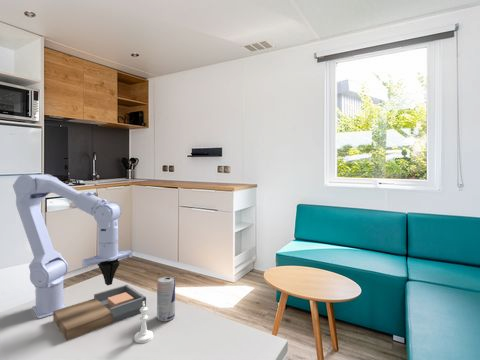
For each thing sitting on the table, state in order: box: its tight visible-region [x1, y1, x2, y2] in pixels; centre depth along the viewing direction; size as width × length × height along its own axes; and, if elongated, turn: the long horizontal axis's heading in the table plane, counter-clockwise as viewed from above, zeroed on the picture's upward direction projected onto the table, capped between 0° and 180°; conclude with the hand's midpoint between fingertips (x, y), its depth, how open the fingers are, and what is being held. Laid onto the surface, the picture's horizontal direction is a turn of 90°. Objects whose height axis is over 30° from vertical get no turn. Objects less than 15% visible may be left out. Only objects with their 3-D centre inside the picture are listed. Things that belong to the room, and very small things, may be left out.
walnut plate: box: [52, 298, 114, 342], centre depth 85 cm, size 14×12×3 cm
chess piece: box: [133, 301, 154, 344], centre depth 77 cm, size 5×5×10 cm
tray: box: [93, 284, 147, 324], centre depth 92 cm, size 14×11×4 cm
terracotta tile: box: [108, 292, 134, 307], centre depth 92 cm, size 6×6×2 cm
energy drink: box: [156, 275, 176, 322], centre depth 88 cm, size 5×5×12 cm
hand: (108, 284), depth 90 cm, fingers closed
